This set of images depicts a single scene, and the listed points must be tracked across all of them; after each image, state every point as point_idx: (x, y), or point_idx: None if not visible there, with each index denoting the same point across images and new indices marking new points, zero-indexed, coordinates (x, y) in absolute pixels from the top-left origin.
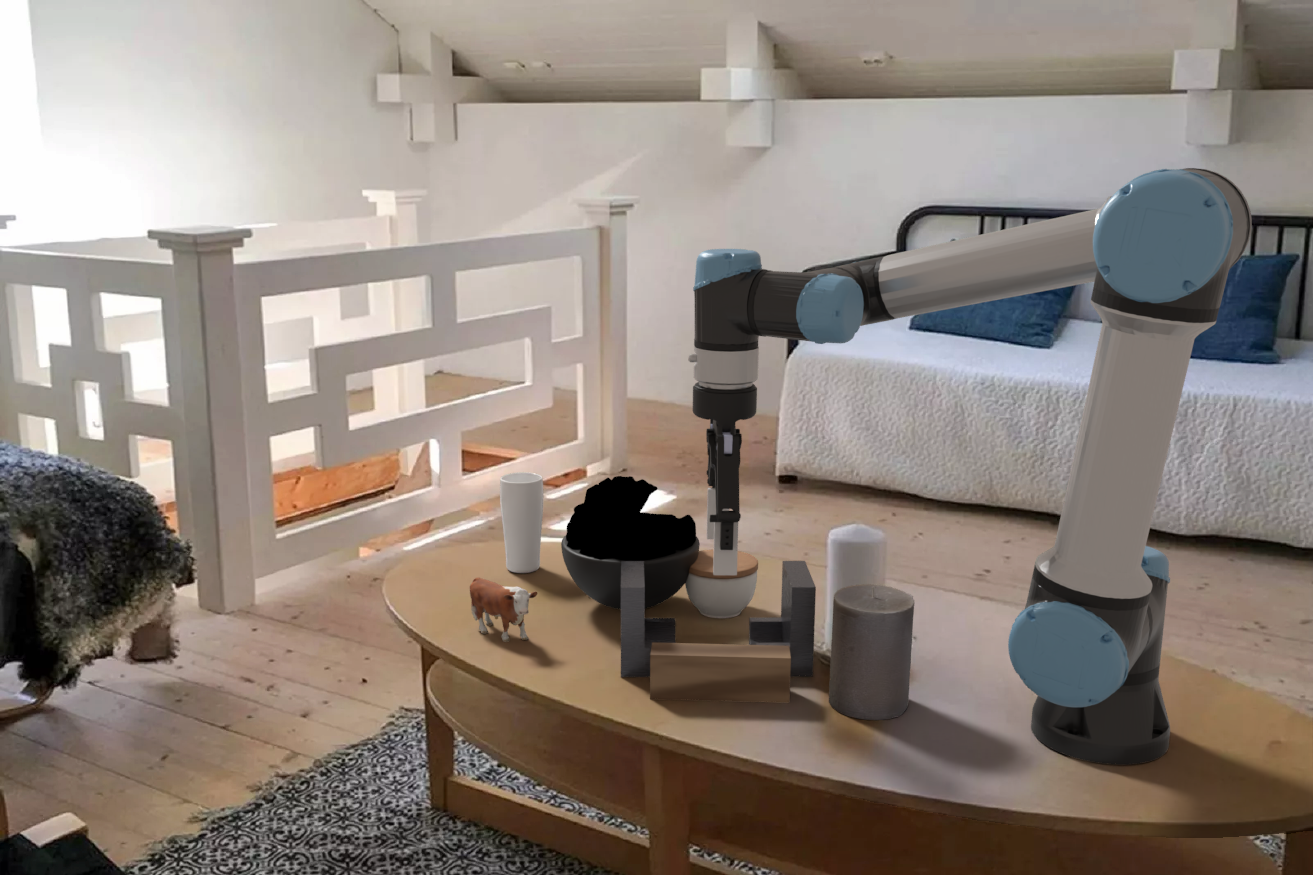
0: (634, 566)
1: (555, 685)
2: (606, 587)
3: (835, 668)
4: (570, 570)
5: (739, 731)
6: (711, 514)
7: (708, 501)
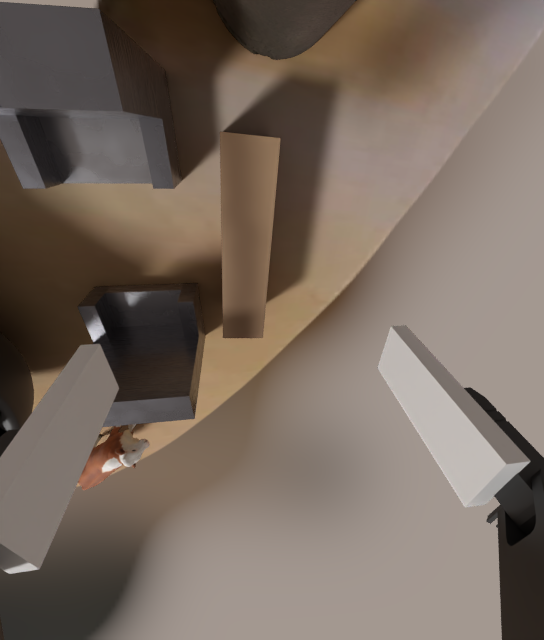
0: None
1: (229, 379)
2: (33, 395)
3: (317, 33)
4: None
5: (345, 218)
6: (85, 447)
7: (67, 504)
